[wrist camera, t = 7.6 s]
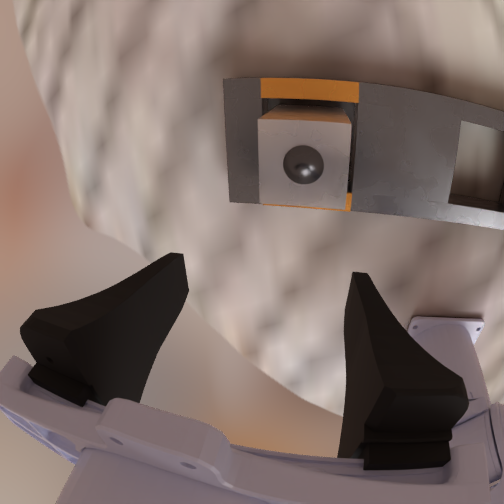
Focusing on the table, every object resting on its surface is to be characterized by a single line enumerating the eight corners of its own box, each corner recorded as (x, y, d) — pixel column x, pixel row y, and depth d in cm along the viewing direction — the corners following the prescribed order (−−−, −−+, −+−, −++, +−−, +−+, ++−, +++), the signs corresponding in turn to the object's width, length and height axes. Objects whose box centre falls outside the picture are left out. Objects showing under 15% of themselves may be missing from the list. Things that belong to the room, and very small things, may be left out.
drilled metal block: (339, 167, 20) (344, 210, 14) (279, 163, 21) (259, 203, 15) (342, 107, 18) (351, 124, 12) (278, 104, 19) (257, 119, 13)
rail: (515, 221, 18) (528, 234, 16) (237, 191, 23) (228, 203, 21) (536, 123, 14) (552, 129, 12) (232, 78, 18) (222, 79, 16)
